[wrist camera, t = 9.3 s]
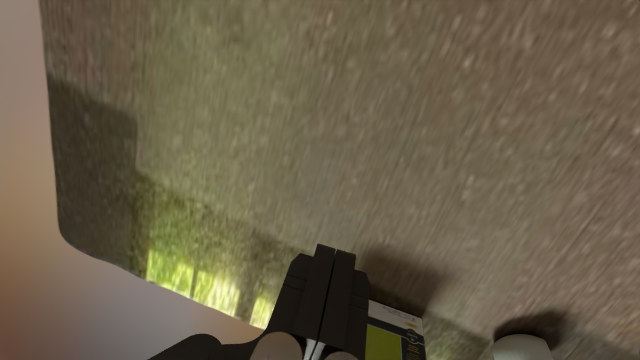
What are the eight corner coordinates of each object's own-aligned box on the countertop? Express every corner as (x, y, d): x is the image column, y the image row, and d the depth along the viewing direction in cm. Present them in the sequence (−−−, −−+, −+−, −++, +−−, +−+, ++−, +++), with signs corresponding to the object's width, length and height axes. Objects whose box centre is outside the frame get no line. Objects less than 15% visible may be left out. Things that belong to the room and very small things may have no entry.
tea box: (328, 318, 60) (313, 402, 48) (346, 288, 55) (334, 375, 43) (398, 343, 61) (402, 434, 48) (423, 317, 55) (434, 411, 43)
